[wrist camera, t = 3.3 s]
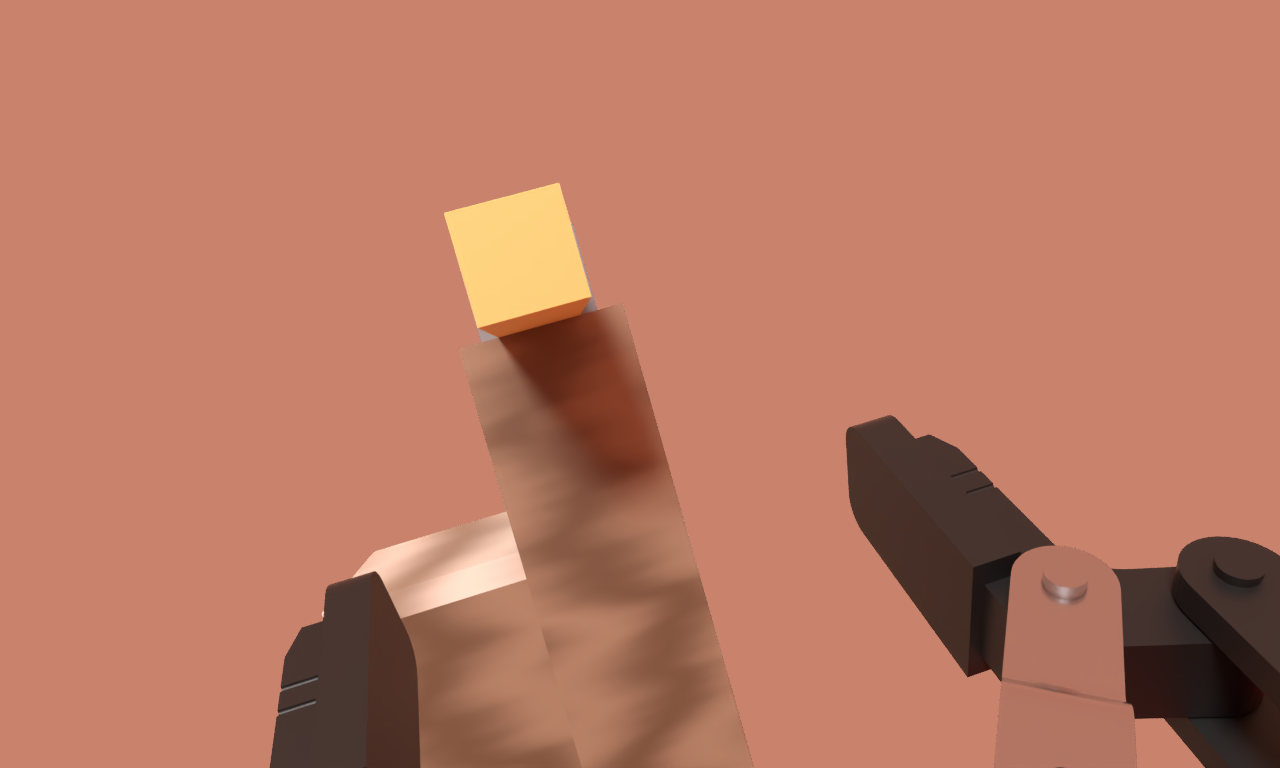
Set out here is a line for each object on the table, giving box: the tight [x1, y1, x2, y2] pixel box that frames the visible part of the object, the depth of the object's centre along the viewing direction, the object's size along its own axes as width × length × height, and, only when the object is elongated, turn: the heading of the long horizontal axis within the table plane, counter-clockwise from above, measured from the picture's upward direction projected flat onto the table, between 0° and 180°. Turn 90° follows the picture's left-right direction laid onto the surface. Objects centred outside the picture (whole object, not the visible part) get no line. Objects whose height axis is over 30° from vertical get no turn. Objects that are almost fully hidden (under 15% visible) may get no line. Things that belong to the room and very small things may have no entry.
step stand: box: [322, 304, 754, 768], centre depth 36 cm, size 13×10×32 cm
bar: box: [444, 183, 597, 342], centre depth 31 cm, size 5×18×4 cm, turn 6°
